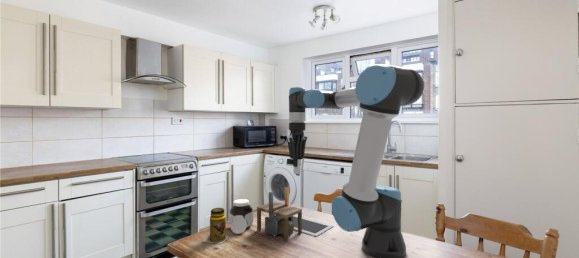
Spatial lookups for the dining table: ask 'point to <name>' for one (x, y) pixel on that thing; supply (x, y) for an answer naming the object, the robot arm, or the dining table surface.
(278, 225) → the stone block
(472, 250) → the dining table surface
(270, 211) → the slider frame
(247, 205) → the spread jar
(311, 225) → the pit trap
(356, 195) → the robot arm
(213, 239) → the condiment
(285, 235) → the brown wooden table
